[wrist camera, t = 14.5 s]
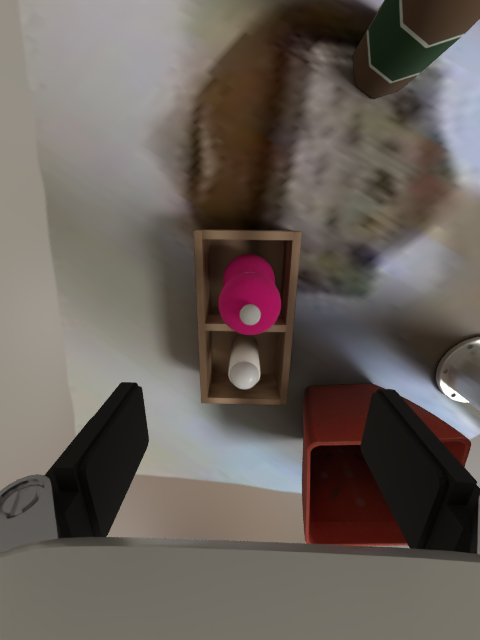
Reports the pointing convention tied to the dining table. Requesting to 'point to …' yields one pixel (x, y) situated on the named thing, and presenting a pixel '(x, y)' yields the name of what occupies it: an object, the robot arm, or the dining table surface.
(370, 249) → the dining table surface
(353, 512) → the plant pot
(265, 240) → the caddy
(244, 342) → the salt shaker
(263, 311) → the pepper mill
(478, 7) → the beer bottle
